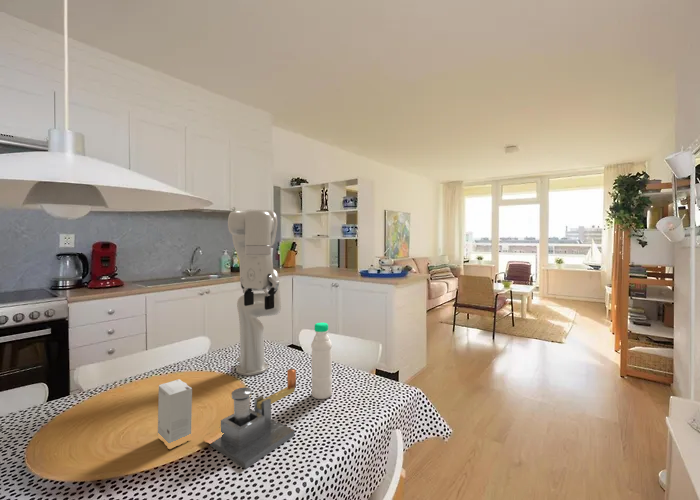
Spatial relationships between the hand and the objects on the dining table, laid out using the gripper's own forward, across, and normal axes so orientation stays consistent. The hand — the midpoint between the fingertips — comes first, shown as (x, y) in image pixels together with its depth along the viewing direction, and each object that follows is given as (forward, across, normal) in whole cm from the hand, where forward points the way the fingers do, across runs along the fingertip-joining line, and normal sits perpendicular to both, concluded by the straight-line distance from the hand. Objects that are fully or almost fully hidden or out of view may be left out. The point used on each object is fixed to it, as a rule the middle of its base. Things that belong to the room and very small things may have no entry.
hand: (258, 306), depth 99 cm
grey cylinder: (+32, +8, -12) cm, 35 cm away
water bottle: (+34, +8, +20) cm, 40 cm away
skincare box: (+34, -8, -22) cm, 41 cm away
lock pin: (+26, +8, 0) cm, 28 cm away
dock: (+33, +8, -11) cm, 36 cm away
